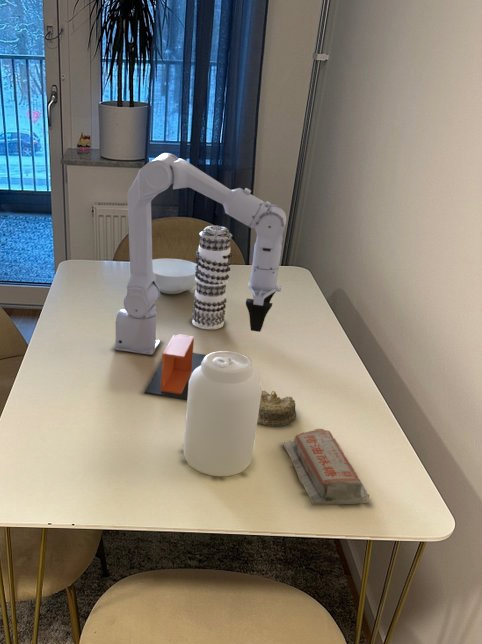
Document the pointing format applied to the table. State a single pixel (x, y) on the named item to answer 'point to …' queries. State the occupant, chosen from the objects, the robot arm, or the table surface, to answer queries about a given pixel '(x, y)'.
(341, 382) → the table surface
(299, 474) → the packaged product
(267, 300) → the robot arm
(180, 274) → the cereal bowl
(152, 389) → the mat
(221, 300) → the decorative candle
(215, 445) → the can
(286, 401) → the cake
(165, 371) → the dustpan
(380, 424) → the table surface
